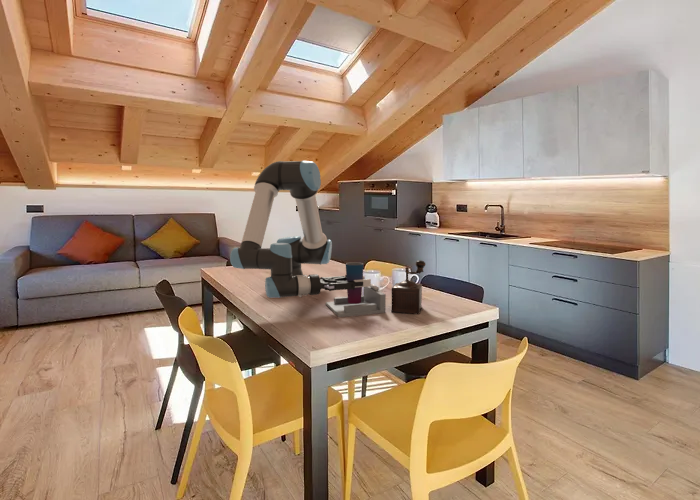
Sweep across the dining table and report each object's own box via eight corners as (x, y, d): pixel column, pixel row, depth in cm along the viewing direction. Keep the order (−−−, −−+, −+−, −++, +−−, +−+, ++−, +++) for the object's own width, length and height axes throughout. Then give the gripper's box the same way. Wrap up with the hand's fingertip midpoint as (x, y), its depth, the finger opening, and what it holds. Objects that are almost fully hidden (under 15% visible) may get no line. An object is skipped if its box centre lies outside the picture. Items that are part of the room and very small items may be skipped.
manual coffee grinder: (420, 314, 153) (421, 266, 150) (390, 312, 156) (391, 264, 153) (425, 304, 167) (426, 259, 165) (397, 302, 170) (398, 258, 168)
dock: (325, 304, 166) (325, 283, 165) (368, 300, 172) (368, 280, 171) (338, 317, 149) (338, 293, 148) (385, 312, 155) (385, 290, 154)
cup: (361, 305, 156) (361, 265, 154) (343, 304, 158) (343, 264, 156) (364, 300, 163) (364, 262, 161) (347, 299, 164) (347, 261, 162)
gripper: (303, 289, 163) (358, 285, 170) (314, 301, 145) (376, 296, 153) (302, 270, 162) (359, 267, 169) (314, 279, 144) (376, 275, 152)
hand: (367, 280), depth 161 cm, fingers closed on cup, 6 cm apart
